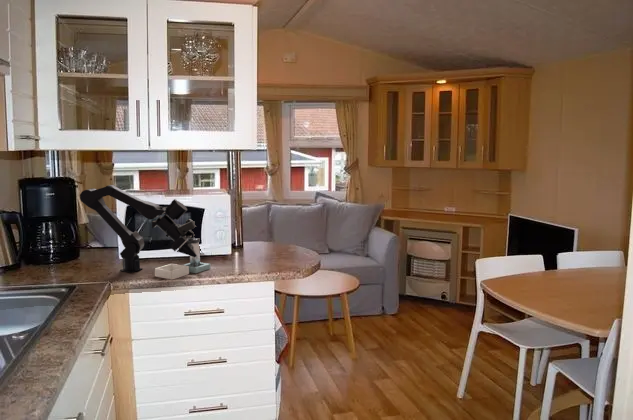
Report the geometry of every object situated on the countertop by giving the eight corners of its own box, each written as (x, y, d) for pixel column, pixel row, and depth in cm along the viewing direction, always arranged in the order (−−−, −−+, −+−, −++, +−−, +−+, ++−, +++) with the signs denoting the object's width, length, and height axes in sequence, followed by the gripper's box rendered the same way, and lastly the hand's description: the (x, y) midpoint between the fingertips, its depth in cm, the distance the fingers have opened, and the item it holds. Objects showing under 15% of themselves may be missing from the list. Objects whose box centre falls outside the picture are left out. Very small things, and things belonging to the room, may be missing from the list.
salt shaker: (186, 270, 212) (185, 239, 211) (195, 267, 217) (193, 237, 215) (195, 271, 210) (194, 240, 208) (203, 269, 214) (202, 238, 212)
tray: (154, 276, 203) (154, 268, 203) (172, 270, 211) (172, 263, 211) (172, 279, 198) (171, 271, 198) (189, 273, 207) (189, 266, 206)
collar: (180, 270, 212) (180, 265, 211) (194, 266, 219) (194, 261, 219) (195, 273, 208) (195, 268, 207) (210, 268, 215) (210, 263, 215)
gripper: (178, 217, 201) (207, 244, 203) (188, 210, 219) (215, 235, 221) (158, 237, 201) (188, 264, 203) (170, 229, 220) (197, 254, 222)
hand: (198, 253), depth 212 cm, fingers open, 9 cm apart
